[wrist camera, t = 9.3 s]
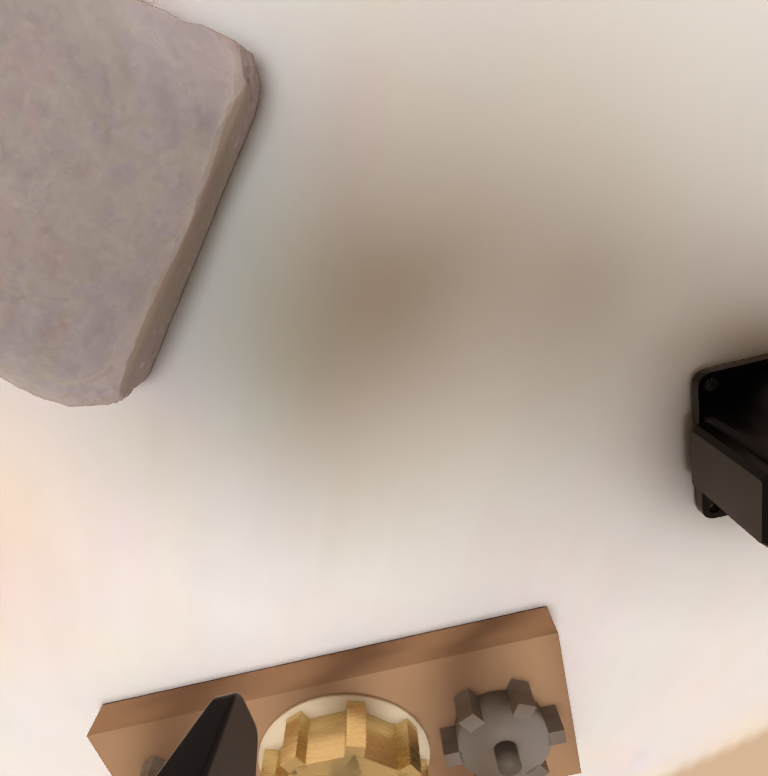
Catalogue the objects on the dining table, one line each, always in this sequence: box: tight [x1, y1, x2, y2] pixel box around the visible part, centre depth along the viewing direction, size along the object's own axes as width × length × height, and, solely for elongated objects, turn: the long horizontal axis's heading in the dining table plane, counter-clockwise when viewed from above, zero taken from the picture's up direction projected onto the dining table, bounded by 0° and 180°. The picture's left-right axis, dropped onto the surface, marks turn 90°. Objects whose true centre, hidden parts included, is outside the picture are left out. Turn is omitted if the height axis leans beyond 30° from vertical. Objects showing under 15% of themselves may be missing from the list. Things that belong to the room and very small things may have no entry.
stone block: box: [0, 0, 261, 407], centre depth 16 cm, size 12×5×10 cm
